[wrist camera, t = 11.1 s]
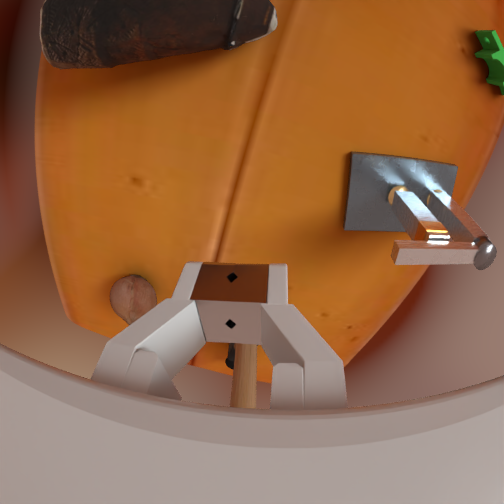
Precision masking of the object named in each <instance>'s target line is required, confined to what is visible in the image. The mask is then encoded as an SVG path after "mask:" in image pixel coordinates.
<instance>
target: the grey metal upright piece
mask: <svg viewBox="0 0 504 504" xmlns="http://www.w3.org/2000/svg"><path fill="white" fill-rule="evenodd" d="M427 209H428V210H429V211H430V212H431V213H432V214H433V215H434V217H435V218H436V219H437V220H438V221H439V222H441V223H442V225H443V226H444V227H445V228H446V229H447V231H448V234H449V235H450V237H451V238H452V239H453V240H454V242H451V241H450V242H449V241H414V240H395V242H394V245H393V249H392V253H391V258H392V260H393V262H394V264H395V265H416V264H474V265H475V267H476V268H477V269H478V270H483V269H486V268H487V267H489V266H490V265H491V264H492V262H493V261H494V259H495V257H496V252H497V251H496V248H495V246H494V245H493V244H492V243H491V242H490V240H489V239H490V238H489V237H488V236H487V234H486V233H485V232H484V231H483V230H482V229H481V228H480V227H479V225H478V224H477V223H476V222H475V221H474V220H473V219H472V218H471V217H470V216H469V215H468V214H467V213H466V212H465V211H464V210H463V209H462V208H461V207H460V206H459V205H458V204H457V203H456V202H455V201H454V200H453V199H452V198H451V197H450V196H449V195H448V194H447V193H446V192H438V191H430V197H429V201H428V205H427Z"/></svg>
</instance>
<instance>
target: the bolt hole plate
mask: <svg viewBox="0 0 504 504" xmlns="http://www.w3.org/2000/svg"><path fill="white" fill-rule="evenodd" d="M457 169H458V167H457V166H456V165H454V164H449V163H443V162H437V161H431V160H424V159H418V158H410V157H403V156H394V155H385V154H375V153H363V152H351V158H350V170H349V180H348V190H347V199H346V208H345V216H344V224H343V228H344V230H363V231H400V232H406V230H405V229H404V227H403V226H402V224H401V223H400V221H399V220H398V218H397V217H396V216H395V214H394V213H393V211H392V210H391V208H392V202H393V197H394V192H395V191H407V192H413V193H414V194H415V195H416V196H417V197H418V198H419V200H420V201H421V202H422V203H423V204H424V205H425V206H426V207H427V205H428V201H429V197H430V191H438V192H446V193H447V194H448V195H449V196H450V197H451V196H452V192H453V188H454V183H455V179H456V174H457Z"/></svg>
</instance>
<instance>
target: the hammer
mask: <svg viewBox="0 0 504 504" xmlns="http://www.w3.org/2000/svg"><path fill="white" fill-rule="evenodd" d="M225 363H226V365H227V366H228V367H229V368H231V369H233V381H232V391H231V401H230V407H239V408H253V409H256V374H257V345H255V344H241V343H230V344H229V350H228V358H227V359H226V361H225Z"/></svg>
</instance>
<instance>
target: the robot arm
mask: <svg viewBox="0 0 504 504" xmlns="http://www.w3.org/2000/svg"><path fill="white" fill-rule="evenodd" d="M206 342H225V343H241V344H255V345H262V348H263V349H264V351H265V353H266V354H267V356H268V358H269V360H270V361H271V363H272V365H273V366H274V367H273V376H272V390H271V402H270V409H253V408H239V407H226V406H217V405H209V404H201V403H193V402H186V401H181V400H182V397H181V395H180V394H179V392H178V390H177V389H176V387H175V385H174V384H173V382H172V379H173V378H174V377H175V376H176V375H177V374H178V373H179V372H180V371H181V369H182V368H183V367H184V366H185V365H186V364H187V363H188V362H189V361H190V360H191V359H192V358H193V357H194V356H195V354H196V353H197V352H198V351H199V350H200V349H201V348H202V347H203V346H204V345H205V344H206ZM0 504H504V375H503V376H500V377H497V378H495V379H492V380H489V381H485V382H483V383H479V384H476V385H472V386H469V387H466V388H462V389H458V390H454V391H450V392H447V393H442V394H438V395H433V396H429V397H424V398H419V399H413V400H407V401H401V402H395V403H388V404H380V405H372V406H363V407H352V408H348V407H347V397H346V387H345V376H344V368H343V361H342V360H341V359H340V358H339V356H338V355H337V354H336V353H335V352H334V351H333V350H332V348H331V347H330V346H329V345H328V344H327V343H326V342H325V340H324V339H323V338H322V337H321V336H320V335H319V334H318V332H317V331H316V330H315V329H314V328H313V327H312V326H311V324H310V323H309V322H308V321H307V320H306V319H305V318H304V316H303V315H302V314H301V313H300V312H299V311H298V310H297V308H296V307H295V306H294V305H293V304H288V284H287V264H236V263H217V262H192V261H188V262H187V263H186V264H185V266H184V268H183V271H182V273H181V275H180V278H179V280H178V283H177V285H176V288H175V290H174V293H173V295H172V298H171V299H167V298H166V299H165V300H164V301H162V302H161V303H160V304H158V305H157V306H155V307H154V308H153V309H151V310H150V311H149V312H147V313H146V314H145V315H143V316H142V317H140V318H139V319H138V320H136V321H135V322H134V323H132V324H131V325H130V326H128V327H127V328H126V329H124V330H123V331H121V332H120V333H119V334H117V335H116V336H115V337H113V338H112V339H111V340H109V341H108V342H107V344H106V346H105V348H104V350H103V352H102V354H101V357H100V359H99V361H98V363H97V366H96V368H95V370H94V373H93V375H92V377H91V380H90V379H87V378H84V377H81V376H78V375H75V374H72V373H69V372H66V371H63V370H60V369H58V368H55V367H53V366H50V365H47V364H45V363H42V362H40V361H37V360H35V359H33V358H30V357H28V356H26V355H24V354H21V353H19V352H17V351H15V350H13V349H10V348H8V347H6V346H4V345H2V344H0Z"/></svg>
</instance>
